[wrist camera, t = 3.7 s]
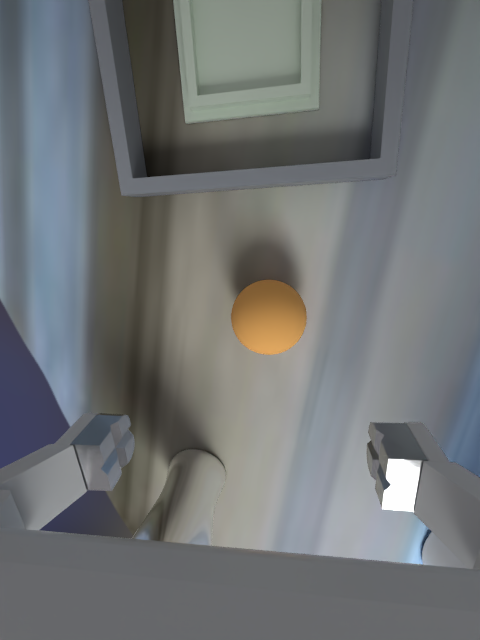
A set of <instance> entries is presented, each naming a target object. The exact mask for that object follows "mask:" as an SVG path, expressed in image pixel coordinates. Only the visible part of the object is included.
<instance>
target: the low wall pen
mask: <svg viewBox="0 0 480 640" xmlns="http://www.w3.org/2000/svg"><path fill="white" fill-rule="evenodd" d="M88 1H89V7H90V13H91V19H92V25H93V31H94V37H95V43H96V48H97V54H98V60H99V66H100V72H101V78H102V84H103V90H104V96H105V101H106V107H107V113H108V119H109V125H110V131H111V137H112V143H113V149H114V154H115V160H116V166H117V172H118V178H119V184H120V190H121V195H123V196H133V197H144V196H158V195H172V194H186V193H200V192H214V191H227V190H241V189H255V188H269V187H283V186H297V185H311V184H324V183H338V182H352V181H366V180H380V179H386V178H389V177H392V176H395V175H396V172H397V162H398V152H399V142H400V132H401V122H402V112H403V102H404V92H405V82H406V72H407V62H408V52H409V42H410V32H411V22H412V12H413V2H414V0H382V2H381V16H380V29H379V43H378V57H377V70H376V84H375V97H374V111H373V125H372V138H371V152H370V159H364V160H352V161H340V162H328V163H316V164H303V165H291V166H279V167H267V168H254V169H242V170H230V171H218V172H206V173H193V174H181V175H169V176H157V177H147V173H146V166H145V159H144V152H143V145H142V138H141V131H140V124H139V117H138V110H137V103H136V96H135V89H134V81H133V74H132V67H131V60H130V53H129V46H128V39H127V32H126V25H125V18H124V11H123V4H122V0H88Z"/></svg>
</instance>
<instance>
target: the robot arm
mask: <svg viewBox="0 0 480 640" xmlns="http://www.w3.org/2000/svg"><path fill="white" fill-rule="evenodd" d="M130 425H131V423H130V419H129V416H127V415H123V414H105V413H100V414H99V413H86V414H83V415H82V416H81V417H80V418H79V419H78V420H77V421H76V422H75V423H74V424H73V425H72V426H71V427H70V428H69V429H68V430H67V432H66V433H65V434H64V435H63V436H62V437H61V438H60V439H59V440H58V441H57V442H56V443H55V444H49V445H47V446H45V447H43V448H41V449H39V450H37V451H36V452H33V453H31V454H29V455H28V456H26V457H23V458H21V459H19V460H17V461H16V462H14V463H11V464H9V465H7V466H6V467H3V468H1V469H0V640H480V477H478V476H476V475H475V474H473V473H472V472H470V471H468V470H467V469H465V468H464V467H462V466H460V465H459V464H457V463H454V462H450V461H449V460H448V458H447V457H446V455H445V454H444V453H443V451H442V450H441V448H440V447H439V445H438V444H437V442H436V441H435V439H434V438H433V436H432V435H431V433H430V432H429V430H428V429H427V428H426V426H425V425H424V424H423V423H418V422H404V423H385V422H370V425H369V431H368V433H369V436H370V439H371V441H370V442H369V443H368V444H367V463H368V468H369V471H370V474H371V476H372V477H373V478H374V479H375V480H376V486H375V489H376V492H377V495H378V498H379V501H380V504H381V507H382V509H390V510H401V511H411V512H414V514H415V515H416V516H417V517H418V518H419V519H420V520H421V521H422V522H423V523H424V524H425V525H426V526H427V527H428V528H429V529H430V530H431V531H432V532H431V533H430V535H429V536H428V538H427V539H426V541H425V544H424V546H423V551H422V562H423V565H422V564H411V563H400V562H388V561H377V560H366V559H355V558H343V557H332V556H321V555H310V554H298V553H287V552H276V551H264V550H253V549H242V548H231V547H219V546H208V545H197V544H186V543H175V542H163V541H152V540H140V539H129V538H118V537H106V536H95V535H83V534H71V533H61V532H50V531H39V530H40V529H41V528H42V527H43V526H44V525H46V524H47V523H48V522H49V521H51V520H52V519H53V518H54V517H55V516H57V515H58V514H59V513H61V512H62V511H63V510H64V509H66V508H67V507H68V506H69V505H71V504H72V503H73V502H74V501H75V500H77V499H78V498H79V497H81V496H82V495H83V494H84V493H86V492H87V490H105V491H112V489H113V488H114V486H115V484H116V483H117V481H118V479H119V478H120V476H121V474H122V473H121V468H122V467H123V466H125V465H126V464H128V463H129V461H130V459H131V457H132V454H133V451H134V436H133V434H132V433H131V432H130V431H129V430H128V429H129V427H130Z"/></svg>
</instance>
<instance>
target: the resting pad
mask: <svg viewBox="0 0 480 640" xmlns="http://www.w3.org/2000/svg"><path fill="white" fill-rule="evenodd" d="M173 4H174V14H175V24H176V34H177V44H178V54H179V64H180V74H181V84H182V94H183V104H184V114H185V123H187V124H191V123H201V122H210V121H219V120H229V119H238V118H247V117H257V116H266V115H276V114H285V113H294V112H304V111H313V110H318V109H319V82H320V40H321V0H173Z"/></svg>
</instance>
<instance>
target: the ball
mask: <svg viewBox="0 0 480 640" xmlns="http://www.w3.org/2000/svg"><path fill="white" fill-rule="evenodd" d="M306 319H307V316H306V308H305V305H304V302H303V300H302V298H301V297H300V295H299V294H298V293H297V292H296V291H295V290H294V289H293V288H292V287H291V286H289V285H287V284H285V283H283V282H280V281H277V280H261V281H257V282H255V283H252V284H250V285H249V286H247V287H246V288H245V289H244V290H243V291H242V292H241V293H240V294H239V295H238V297H237V298H236V300H235V302H234V305H233V308H232V313H231V321H232V327H233V330H234V332H235V334H236V336H237V338H238V339H239V341H240V342H241V343H242V344H243V345H244V346H245V347H247V348H248V349H250V350H252V351H254V352H256V353H260V354H267V355H272V354H278V353H282V352H284V351H286V350H288V349H290V348H291V347H292V346H294V345H295V344H296V343H297V342H298V340H299V339H300V338H301V336H302V334H303V332H304V329H305V326H306Z"/></svg>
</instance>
